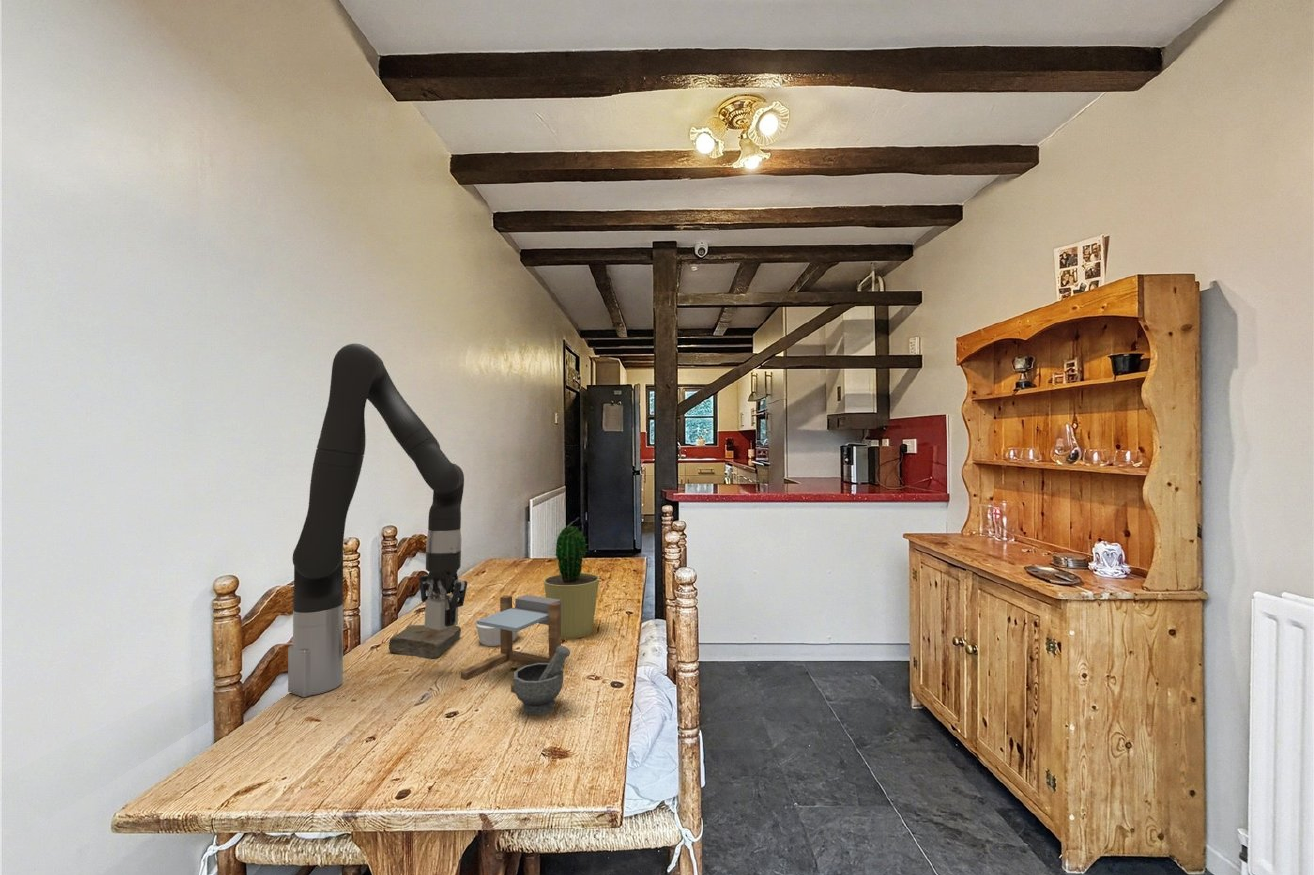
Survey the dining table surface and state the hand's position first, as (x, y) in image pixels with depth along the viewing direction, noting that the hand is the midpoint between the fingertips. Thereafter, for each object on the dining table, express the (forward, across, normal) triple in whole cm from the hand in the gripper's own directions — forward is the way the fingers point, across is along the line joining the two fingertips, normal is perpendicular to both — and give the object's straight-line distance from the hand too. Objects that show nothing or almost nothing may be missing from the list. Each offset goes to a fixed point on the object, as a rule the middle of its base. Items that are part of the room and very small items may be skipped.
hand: (441, 623), depth 123 cm
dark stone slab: (+12, -18, +10) cm, 24 cm away
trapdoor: (+1, +15, +10) cm, 18 cm away
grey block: (+1, 0, 0) cm, 1 cm away
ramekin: (+11, -4, +22) cm, 25 cm away
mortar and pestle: (+11, +32, -2) cm, 34 cm away
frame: (+11, +15, +8) cm, 20 cm away
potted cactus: (+10, +10, +36) cm, 39 cm away
